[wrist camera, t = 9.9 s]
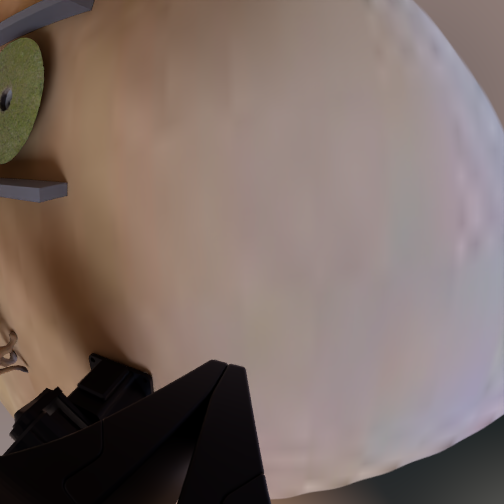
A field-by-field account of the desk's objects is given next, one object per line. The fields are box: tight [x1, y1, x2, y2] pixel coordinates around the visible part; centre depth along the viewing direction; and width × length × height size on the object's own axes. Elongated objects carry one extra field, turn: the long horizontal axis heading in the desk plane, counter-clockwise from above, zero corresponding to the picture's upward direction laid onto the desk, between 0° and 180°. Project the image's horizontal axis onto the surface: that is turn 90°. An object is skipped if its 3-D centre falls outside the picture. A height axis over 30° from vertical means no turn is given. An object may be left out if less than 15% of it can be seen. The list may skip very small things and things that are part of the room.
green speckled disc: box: [0, 38, 44, 164], centre depth 19 cm, size 11×11×2 cm
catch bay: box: [0, 0, 94, 203], centre depth 18 cm, size 16×16×3 cm
